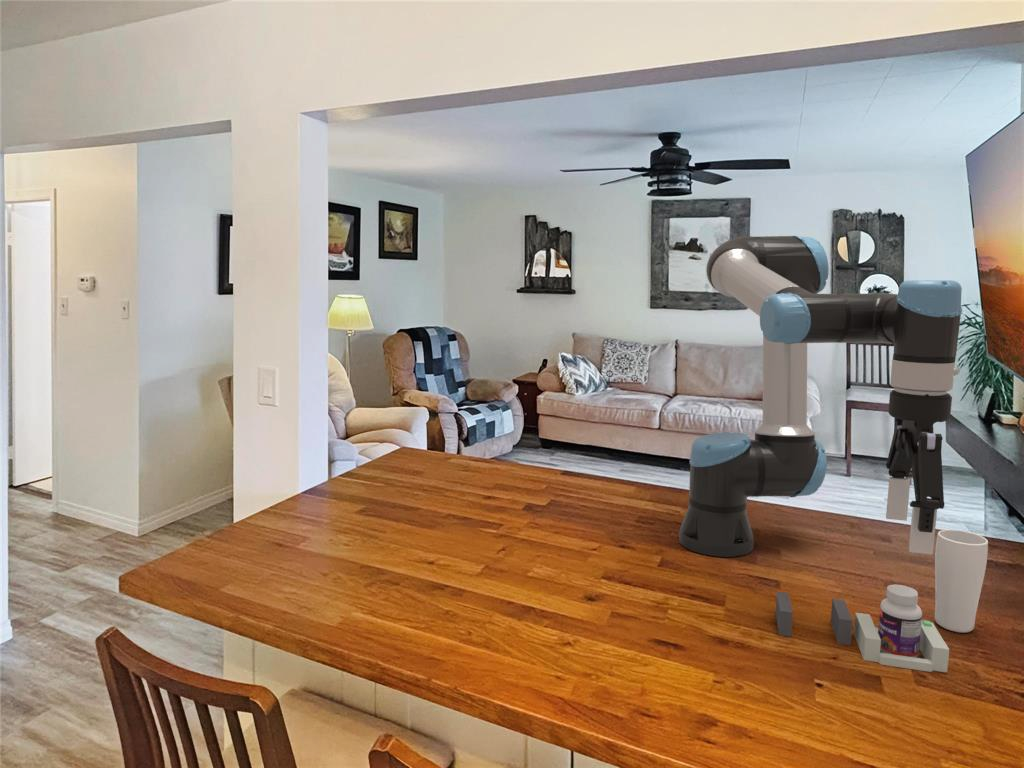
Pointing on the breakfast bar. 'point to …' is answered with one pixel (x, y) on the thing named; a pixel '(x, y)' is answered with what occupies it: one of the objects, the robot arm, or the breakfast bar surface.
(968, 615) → the drinking glass
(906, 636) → the pill bottle
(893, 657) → the port
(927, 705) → the breakfast bar surface
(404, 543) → the breakfast bar surface
